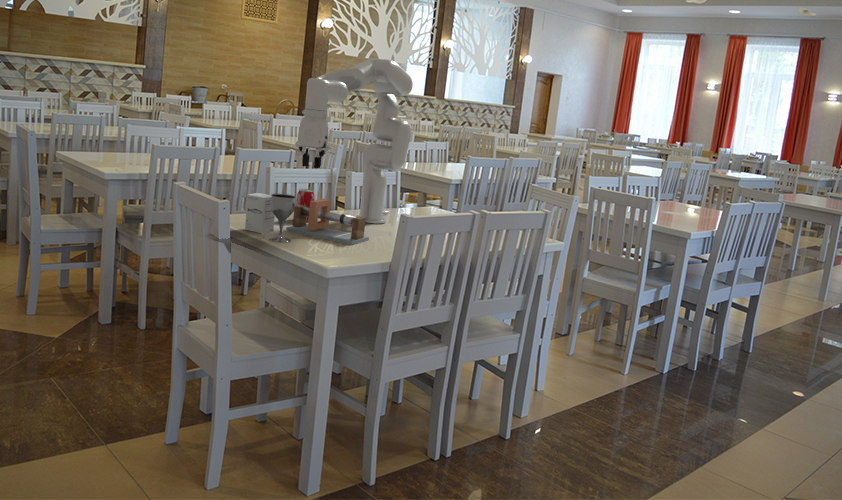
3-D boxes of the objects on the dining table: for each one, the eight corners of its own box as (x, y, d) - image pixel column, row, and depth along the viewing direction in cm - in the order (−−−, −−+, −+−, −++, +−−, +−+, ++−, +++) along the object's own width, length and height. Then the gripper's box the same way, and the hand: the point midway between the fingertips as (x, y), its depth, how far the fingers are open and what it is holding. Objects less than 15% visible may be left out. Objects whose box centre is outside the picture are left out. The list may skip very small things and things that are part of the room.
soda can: (309, 223, 257) (311, 192, 255) (291, 220, 258) (294, 189, 256) (315, 220, 264) (318, 190, 261) (298, 217, 265) (301, 187, 263)
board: (286, 230, 239) (286, 227, 239) (304, 226, 250) (304, 223, 250) (352, 244, 229) (352, 241, 229) (368, 240, 240) (369, 236, 240)
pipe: (297, 215, 241) (298, 206, 240) (302, 214, 244) (303, 205, 244) (356, 227, 233) (356, 217, 232) (360, 226, 236) (361, 216, 235)
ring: (307, 229, 237) (310, 201, 234) (322, 225, 246) (325, 198, 243) (313, 230, 236) (316, 202, 233) (328, 226, 245) (330, 199, 243)
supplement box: (244, 230, 232) (246, 194, 229) (256, 227, 239) (258, 192, 236) (262, 234, 229) (264, 197, 227) (274, 231, 236) (276, 195, 233)
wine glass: (270, 242, 218) (273, 197, 215) (265, 237, 225) (269, 193, 222) (294, 243, 222) (298, 198, 218) (289, 237, 229) (292, 194, 225)
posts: (292, 229, 242) (294, 206, 240) (300, 227, 247) (301, 205, 245) (356, 243, 233) (358, 219, 231) (363, 241, 237) (365, 217, 235)
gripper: (289, 111, 234) (285, 164, 237) (330, 117, 227) (326, 171, 231) (301, 112, 240) (297, 163, 244) (341, 118, 234) (337, 170, 238)
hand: (311, 166), depth 238 cm, fingers open, 4 cm apart
